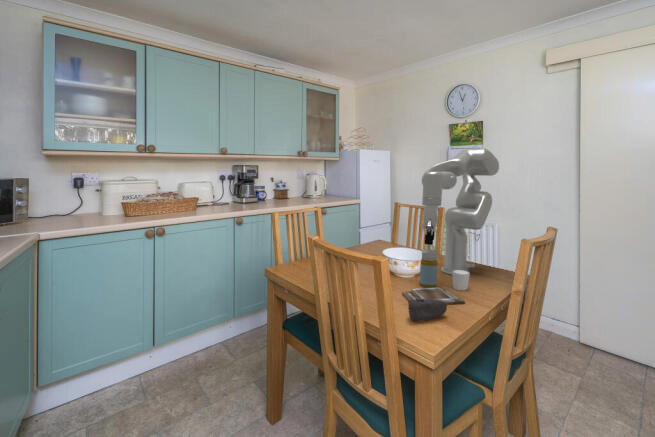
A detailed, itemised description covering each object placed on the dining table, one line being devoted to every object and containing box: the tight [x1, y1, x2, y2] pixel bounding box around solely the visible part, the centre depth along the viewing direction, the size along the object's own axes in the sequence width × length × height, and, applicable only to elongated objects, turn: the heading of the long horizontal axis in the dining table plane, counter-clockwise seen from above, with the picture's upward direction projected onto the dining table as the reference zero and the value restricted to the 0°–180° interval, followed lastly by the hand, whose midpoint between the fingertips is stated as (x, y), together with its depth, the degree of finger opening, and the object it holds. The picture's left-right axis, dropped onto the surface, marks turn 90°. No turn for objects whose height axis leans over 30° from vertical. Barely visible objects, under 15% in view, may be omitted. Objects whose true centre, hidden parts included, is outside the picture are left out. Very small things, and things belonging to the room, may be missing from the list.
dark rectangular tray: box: [401, 286, 466, 306], centre depth 122 cm, size 20×12×2 cm, turn 98°
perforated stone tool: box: [407, 299, 448, 322], centre depth 106 cm, size 15×5×7 cm, turn 101°
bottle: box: [419, 249, 439, 288], centre depth 135 cm, size 7×7×15 cm
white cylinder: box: [451, 270, 471, 291], centre depth 132 cm, size 7×7×7 cm
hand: (429, 242), depth 133 cm, fingers open, 9 cm apart
